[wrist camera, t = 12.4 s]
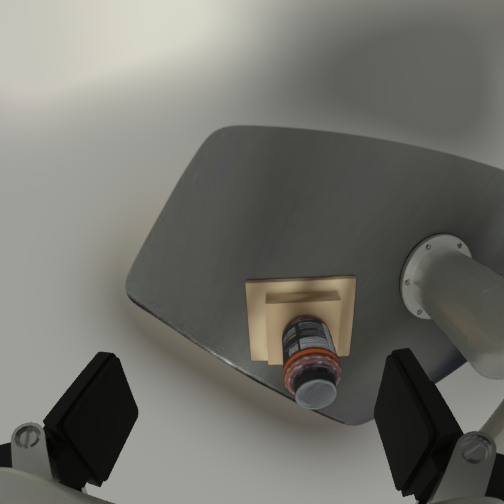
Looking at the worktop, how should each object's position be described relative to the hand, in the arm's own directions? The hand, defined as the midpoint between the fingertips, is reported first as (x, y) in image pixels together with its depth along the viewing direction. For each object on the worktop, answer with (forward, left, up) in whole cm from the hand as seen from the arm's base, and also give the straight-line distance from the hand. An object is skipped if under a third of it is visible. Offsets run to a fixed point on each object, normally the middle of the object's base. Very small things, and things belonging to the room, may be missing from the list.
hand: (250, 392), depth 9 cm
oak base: (-4, +13, -28) cm, 31 cm away
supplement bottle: (-4, +13, -24) cm, 28 cm away
